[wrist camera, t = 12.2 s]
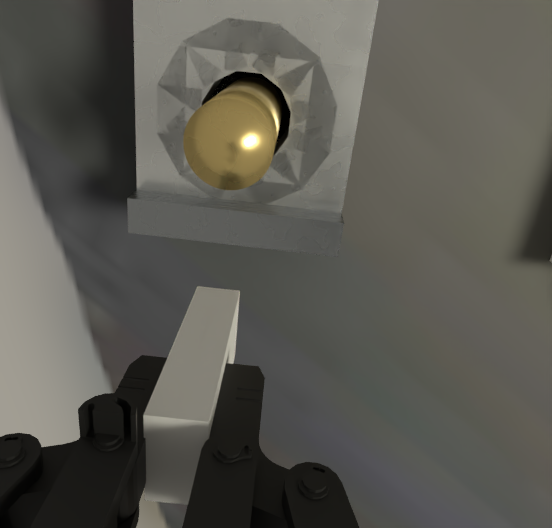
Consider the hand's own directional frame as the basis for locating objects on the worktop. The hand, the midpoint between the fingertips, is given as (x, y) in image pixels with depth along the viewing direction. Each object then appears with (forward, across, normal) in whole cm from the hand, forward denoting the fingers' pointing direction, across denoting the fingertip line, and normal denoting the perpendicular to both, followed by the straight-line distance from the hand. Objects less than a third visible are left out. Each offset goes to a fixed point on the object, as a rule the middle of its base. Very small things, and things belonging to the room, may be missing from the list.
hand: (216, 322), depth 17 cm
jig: (+21, +1, -5) cm, 21 cm away
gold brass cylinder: (+21, +1, -5) cm, 21 cm away
